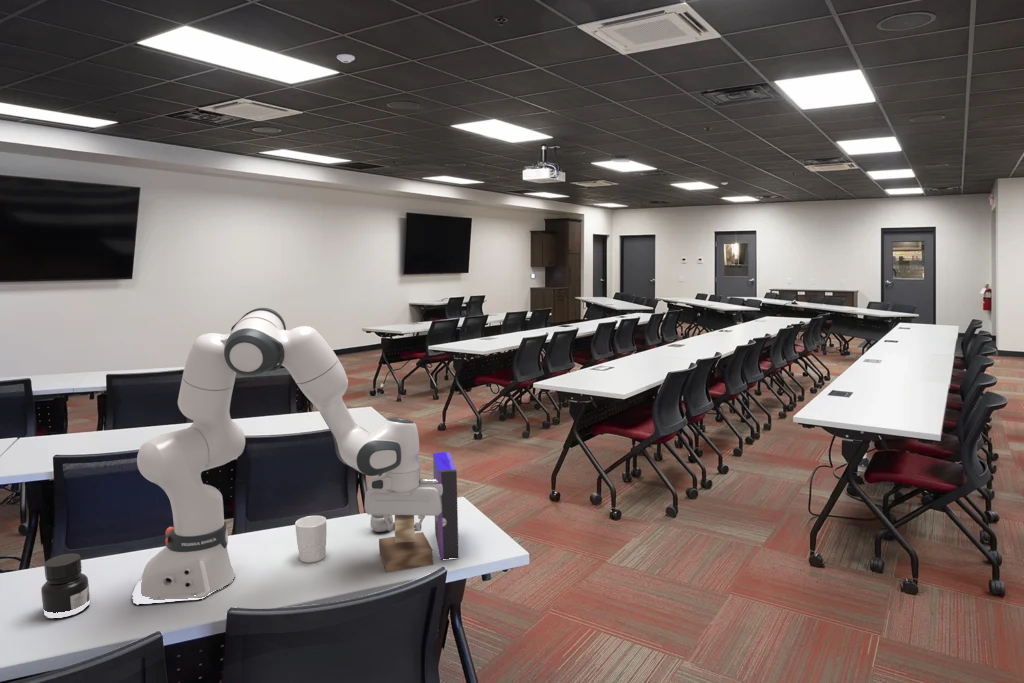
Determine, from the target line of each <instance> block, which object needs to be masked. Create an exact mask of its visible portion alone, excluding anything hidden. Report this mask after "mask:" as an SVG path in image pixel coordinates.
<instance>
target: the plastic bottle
mask: <svg viewBox="0 0 1024 683" xmlns="http://www.w3.org/2000/svg"><path fill="white" fill-rule="evenodd" d="M371 477H372V476H370V478H371ZM390 519H391V521H392V522H394V519H393V515H390ZM370 527H371V529H372V531H373V532H375V533H385V532H387V531H388V525H387V523H386V522H385V520H384V519H383V515H370ZM388 532H389V531H388Z"/></svg>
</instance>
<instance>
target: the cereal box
mask: <svg viewBox="0 0 1024 683" xmlns="http://www.w3.org/2000/svg"><path fill="white" fill-rule="evenodd" d="M432 460H433V461H432V463H433V465H432V466H433V467H432V468H433V469H432V470H433V479H436V480H437V481H438V484H440V483H441V484H442V485H443V494H442V495H441V496H440V497H441V502H442V512H441V513H440V515H438V516H434V534H435V540H436V544H437V548H438V550H439V551H438V555H440V556H439V560H442V561H444V560H443V559H449V558H459V554H460V553H459V523H458V522H459V521H458V518H459V516H458V480H457V479H458V474H457V469H456V466H455V463H454V460H453V456H452V454H451V452H450V451H447V452H446V451H441V452H434V453H432Z"/></svg>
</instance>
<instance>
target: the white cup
mask: <svg viewBox="0 0 1024 683" xmlns="http://www.w3.org/2000/svg"><path fill="white" fill-rule="evenodd" d="M294 526H295V534H296V545H297V550H298V556H299V561H301V562H302V563H316V562H319V561H321V560H323V559H325V557H326V556H327V551H326V550H327V549H326V548H327V547H326V546H327V518H326V517H325V516H322V515H309V516H305V517H301V518H298V519H297V520H296V521H295V524H294Z"/></svg>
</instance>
